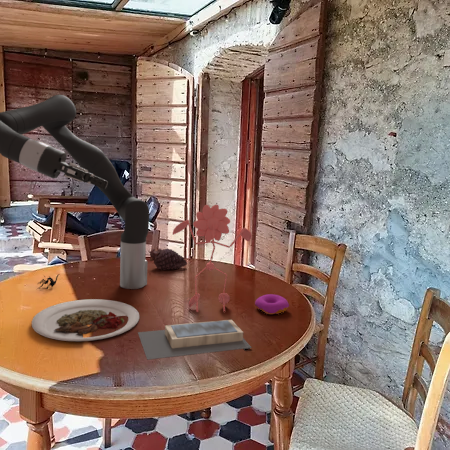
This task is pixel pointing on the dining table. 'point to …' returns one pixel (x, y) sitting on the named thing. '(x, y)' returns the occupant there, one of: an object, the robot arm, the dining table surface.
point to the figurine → (212, 229)
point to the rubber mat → (161, 348)
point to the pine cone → (167, 259)
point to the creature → (47, 282)
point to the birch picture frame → (203, 333)
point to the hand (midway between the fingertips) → (106, 185)
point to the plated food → (83, 319)
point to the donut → (272, 303)
